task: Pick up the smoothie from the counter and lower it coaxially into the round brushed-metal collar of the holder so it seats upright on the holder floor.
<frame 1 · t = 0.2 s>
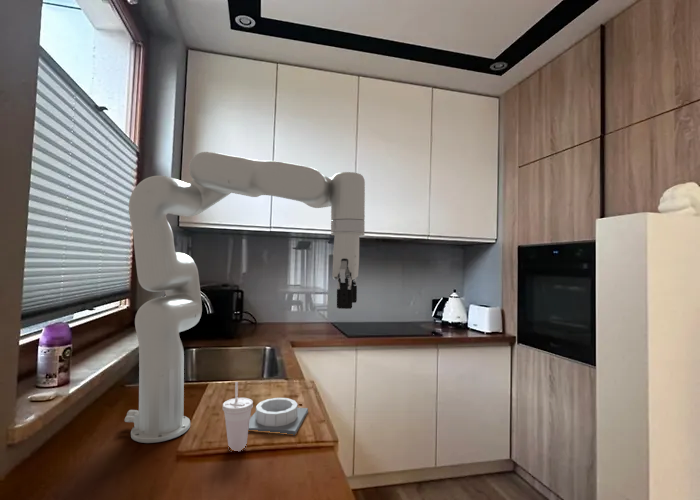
hand: (347, 305, 85), 31 cm above the countertop, tool pointing down, fingers open, 9 cm apart
smoothie: (237, 448, 83), on the countertop
holder: (276, 421, 96), on the countertop
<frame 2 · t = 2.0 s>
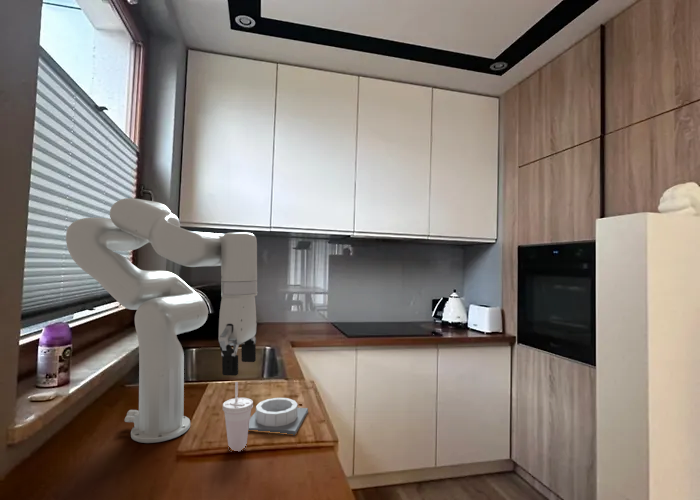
hand: (240, 367, 83), 17 cm above the countertop, tool pointing down, fingers open, 9 cm apart
nothing on the countertop moved.
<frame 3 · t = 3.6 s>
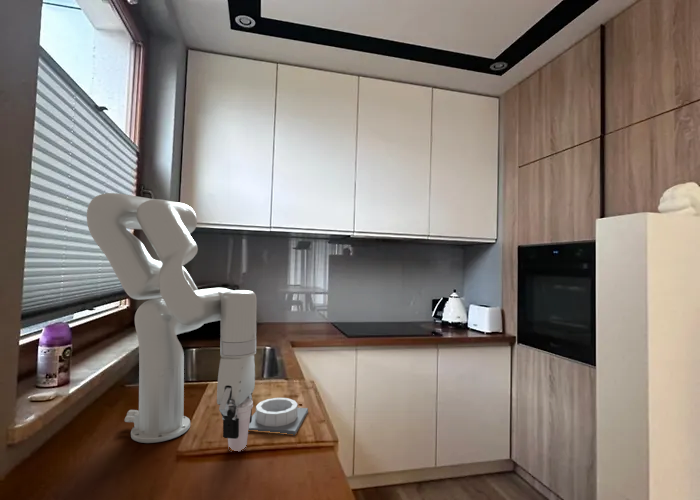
hand: (237, 429, 83), 4 cm above the countertop, tool pointing down, fingers closed on smoothie, 6 cm apart
smoothie: (237, 448, 83), on the countertop, touching gripper
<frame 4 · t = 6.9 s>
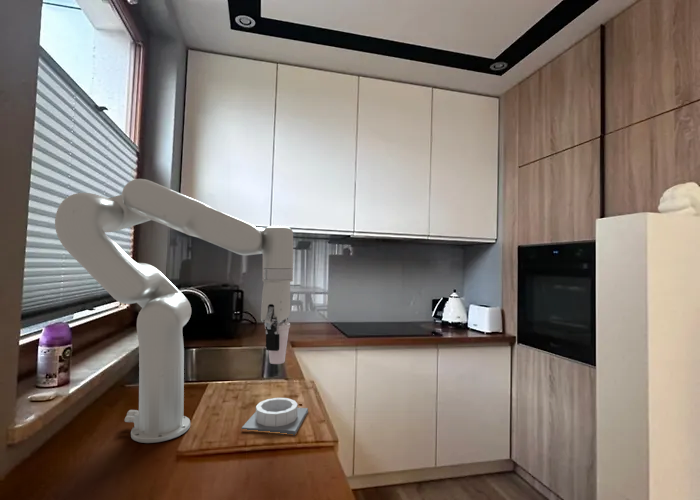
hand: (277, 346, 96), 19 cm above the countertop, tool pointing down, fingers closed on smoothie, 6 cm apart
smoothie: (277, 362, 96), point 15 cm above the countertop, touching gripper
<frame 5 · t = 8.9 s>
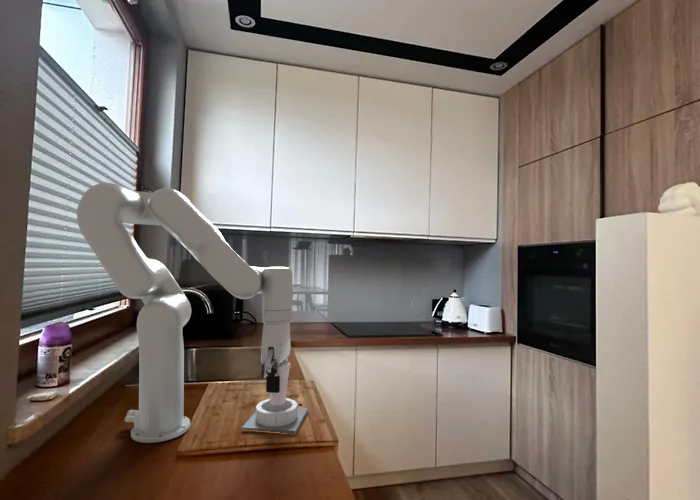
hand: (277, 386, 96), 9 cm above the countertop, tool pointing down, fingers closed on smoothie, 6 cm apart
smoothie: (277, 402, 96), point 5 cm above the countertop, touching gripper
when the fingers open (6 cm above the countertop, at t = 10.3 s): smoothie stays where it is, resting on holder.
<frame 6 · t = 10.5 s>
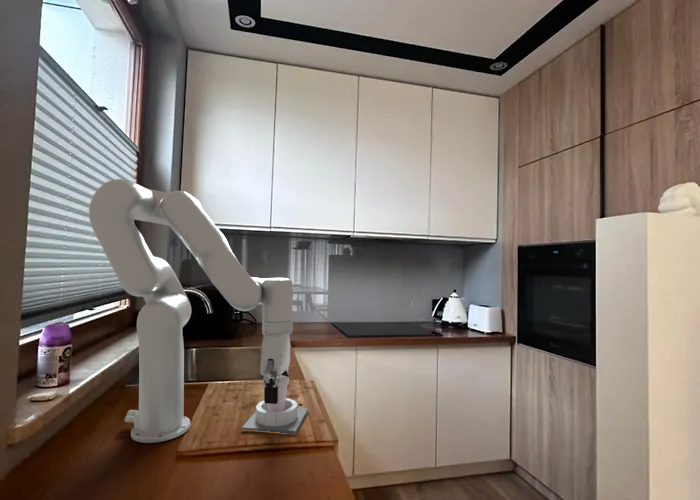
hand: (276, 395, 96), 6 cm above the countertop, tool pointing down, fingers open, 8 cm apart
smoothie: (275, 418, 95), point 1 cm above the countertop, touching holder
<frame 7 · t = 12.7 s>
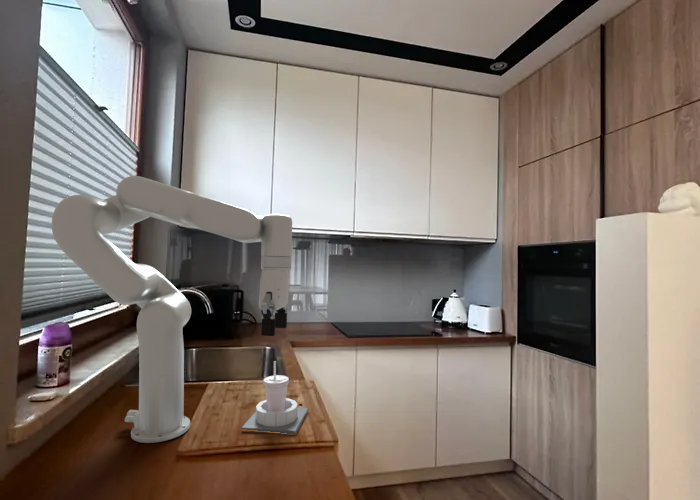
hand: (274, 331, 96), 23 cm above the countertop, tool pointing down, fingers open, 9 cm apart
nothing on the countertop moved.
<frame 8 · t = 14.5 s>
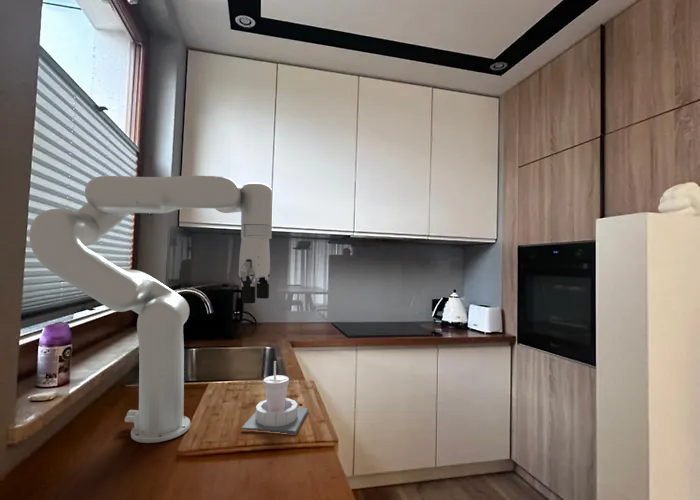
hand: (255, 300, 96), 30 cm above the countertop, tool pointing down, fingers open, 9 cm apart
nothing on the countertop moved.
at the end: smoothie 0.3 cm off-centre on the holder, point 0.8 cm above the holder's base; smoothie tilted 0°; the gripper is holding nothing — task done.
